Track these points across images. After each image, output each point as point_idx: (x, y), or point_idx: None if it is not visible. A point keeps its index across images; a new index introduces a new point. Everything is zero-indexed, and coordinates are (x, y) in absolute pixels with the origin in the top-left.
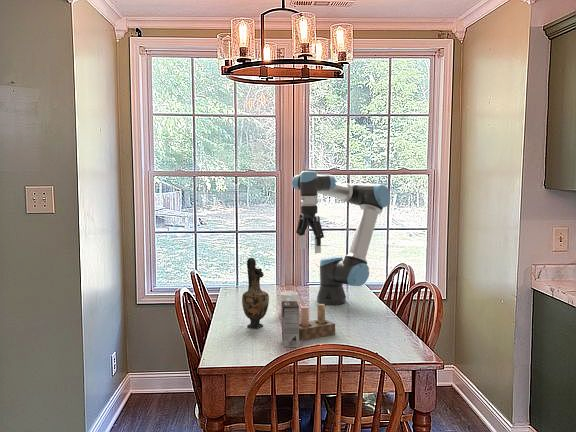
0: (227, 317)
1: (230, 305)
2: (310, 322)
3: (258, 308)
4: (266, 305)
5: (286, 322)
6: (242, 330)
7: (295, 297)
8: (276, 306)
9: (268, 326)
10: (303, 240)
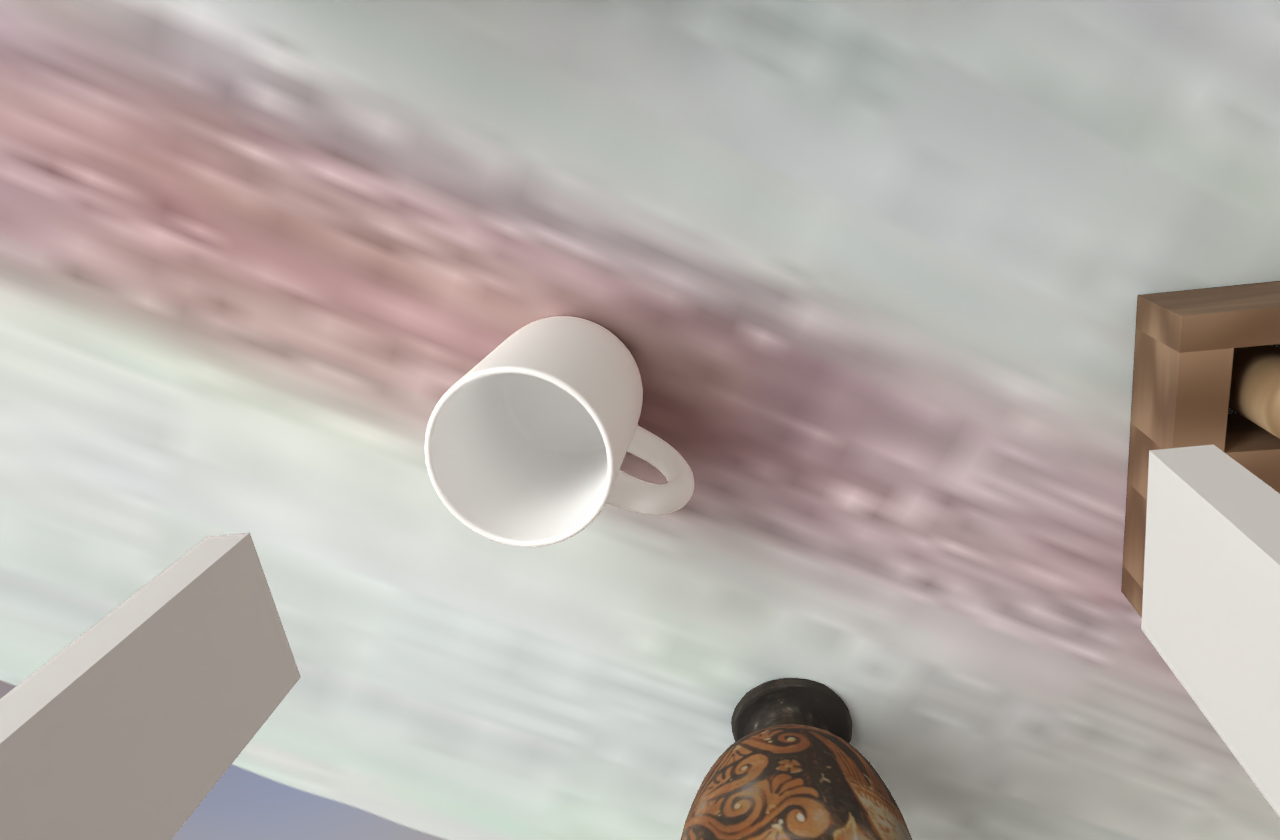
0: (492, 795)
1: None
2: None
3: None
4: (897, 812)
5: None
6: None
7: (609, 414)
8: (283, 389)
9: (832, 652)
10: (70, 771)
